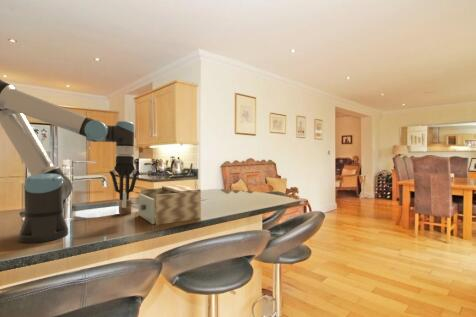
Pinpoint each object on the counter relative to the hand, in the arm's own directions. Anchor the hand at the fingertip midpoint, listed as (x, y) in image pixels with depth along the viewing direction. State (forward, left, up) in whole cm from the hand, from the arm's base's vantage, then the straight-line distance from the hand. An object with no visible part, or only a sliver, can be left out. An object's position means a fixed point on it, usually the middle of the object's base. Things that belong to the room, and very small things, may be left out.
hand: (123, 207), depth 125 cm
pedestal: (+4, +19, -7) cm, 21 cm away
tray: (+20, -2, -7) cm, 22 cm away
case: (+20, -2, -7) cm, 22 cm away
